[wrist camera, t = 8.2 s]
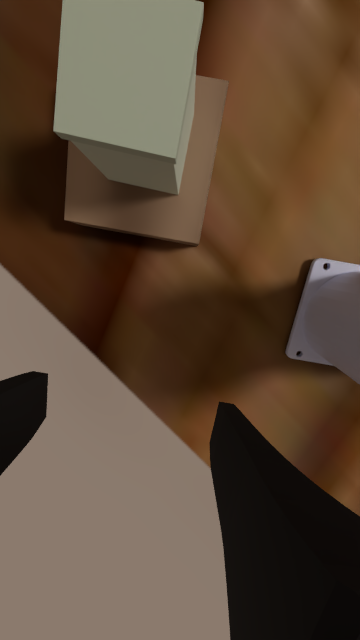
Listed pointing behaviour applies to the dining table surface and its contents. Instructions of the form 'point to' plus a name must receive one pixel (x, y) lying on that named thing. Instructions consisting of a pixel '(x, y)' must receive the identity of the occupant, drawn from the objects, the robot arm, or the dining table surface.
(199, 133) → the tan flat square block
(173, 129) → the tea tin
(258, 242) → the dining table surface
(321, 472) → the dining table surface
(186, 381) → the dining table surface
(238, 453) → the robot arm
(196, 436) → the dining table surface
